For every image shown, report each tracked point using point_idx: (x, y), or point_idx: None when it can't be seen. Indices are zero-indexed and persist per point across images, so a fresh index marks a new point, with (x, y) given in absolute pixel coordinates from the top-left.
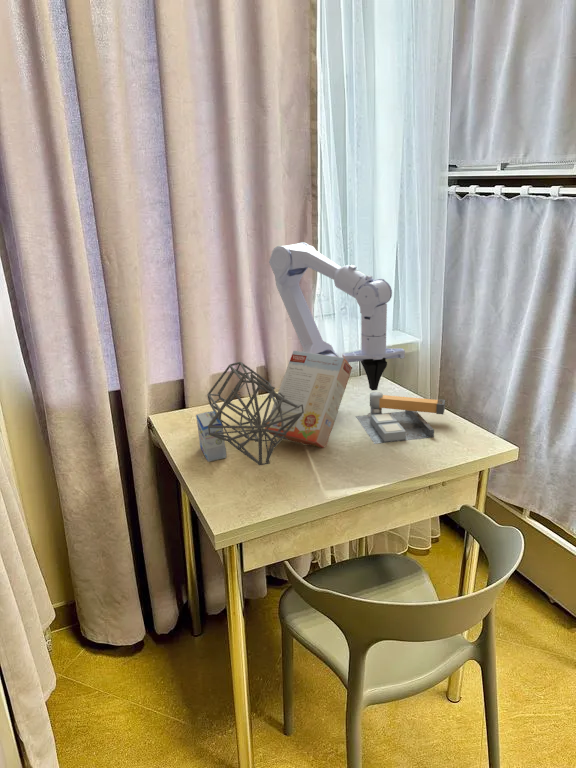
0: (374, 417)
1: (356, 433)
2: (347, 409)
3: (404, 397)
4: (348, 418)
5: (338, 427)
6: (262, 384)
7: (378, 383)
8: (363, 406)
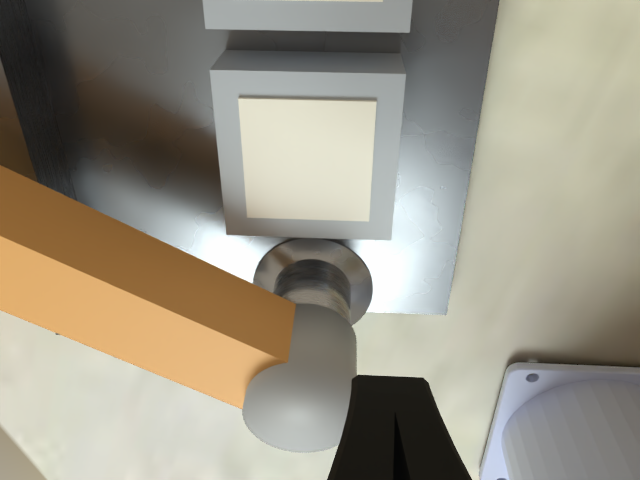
0: (379, 187)
1: (534, 106)
2: None
3: (61, 324)
4: (476, 326)
5: (604, 229)
6: None
7: (344, 441)
8: None
